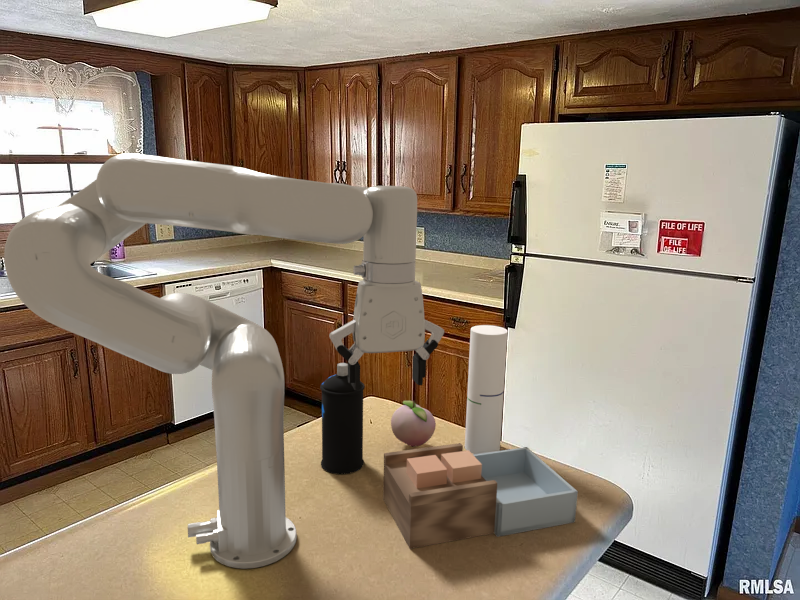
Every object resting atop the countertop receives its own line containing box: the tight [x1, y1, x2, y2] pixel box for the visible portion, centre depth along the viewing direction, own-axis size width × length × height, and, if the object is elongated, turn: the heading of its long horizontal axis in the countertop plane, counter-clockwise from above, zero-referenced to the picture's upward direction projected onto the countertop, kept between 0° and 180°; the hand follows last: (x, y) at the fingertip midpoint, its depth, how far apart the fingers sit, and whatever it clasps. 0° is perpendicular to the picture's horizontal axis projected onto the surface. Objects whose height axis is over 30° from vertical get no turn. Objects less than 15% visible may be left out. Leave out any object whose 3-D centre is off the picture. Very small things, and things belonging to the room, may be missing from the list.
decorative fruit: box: [390, 400, 437, 448], centre depth 119 cm, size 9×8×10 cm
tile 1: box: [406, 455, 447, 488], centre depth 94 cm, size 5×5×2 cm
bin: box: [473, 446, 579, 538], centre depth 100 cm, size 14×16×6 cm
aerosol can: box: [319, 362, 366, 475], centre depth 110 cm, size 8×8×20 cm
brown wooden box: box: [382, 442, 497, 550], centre depth 95 cm, size 14×14×9 cm
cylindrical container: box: [464, 324, 508, 454], centre depth 118 cm, size 7×7×25 cm
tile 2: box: [441, 450, 482, 483], centre depth 96 cm, size 5×5×2 cm
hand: (386, 384), depth 89 cm, fingers open, 9 cm apart
